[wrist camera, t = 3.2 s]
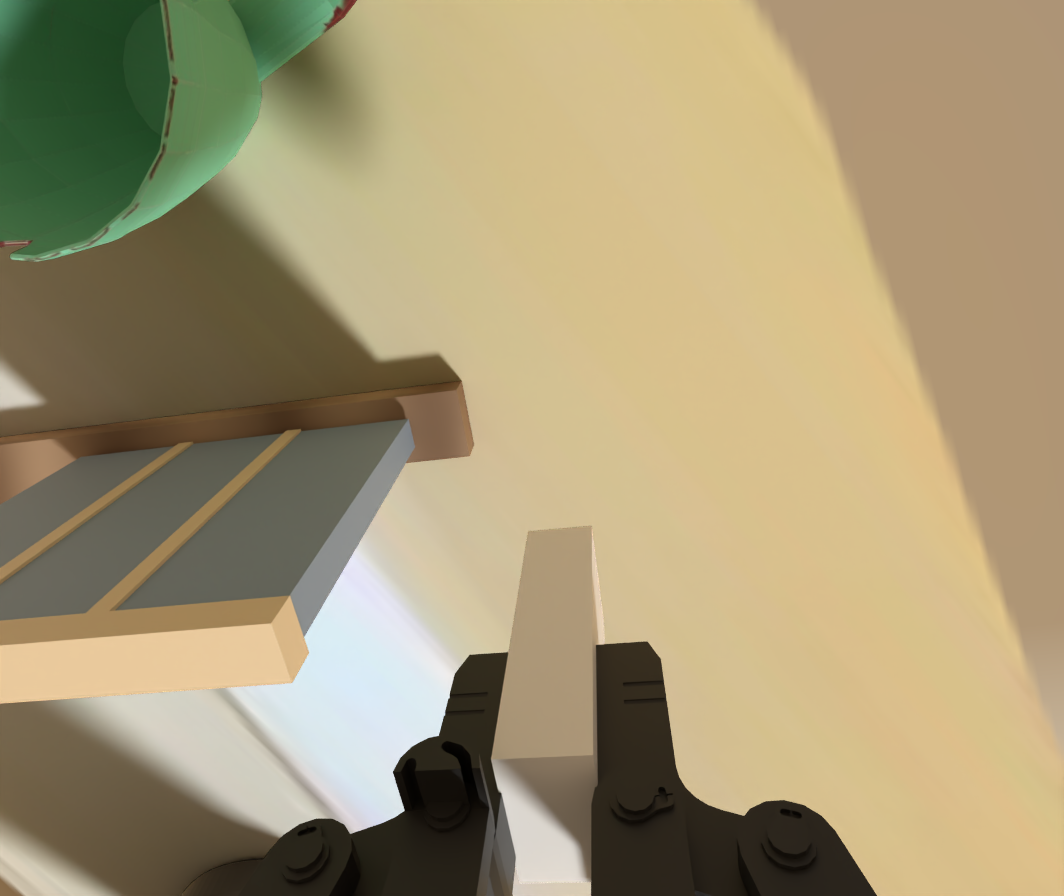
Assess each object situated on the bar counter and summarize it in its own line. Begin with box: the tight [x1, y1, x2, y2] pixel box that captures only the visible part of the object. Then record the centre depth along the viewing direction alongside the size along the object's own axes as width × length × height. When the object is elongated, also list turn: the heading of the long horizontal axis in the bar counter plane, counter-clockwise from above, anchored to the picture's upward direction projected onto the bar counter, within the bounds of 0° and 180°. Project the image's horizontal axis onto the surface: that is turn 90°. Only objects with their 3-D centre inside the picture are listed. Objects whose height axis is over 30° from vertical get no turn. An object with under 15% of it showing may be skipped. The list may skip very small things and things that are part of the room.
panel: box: [0, 419, 415, 704], centre depth 21 cm, size 14×2×13 cm, turn 99°
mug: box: [0, 0, 357, 262], centre depth 19 cm, size 15×10×10 cm
